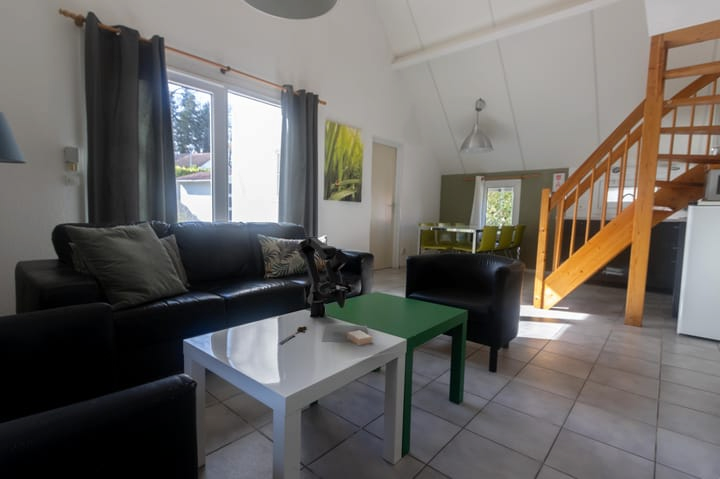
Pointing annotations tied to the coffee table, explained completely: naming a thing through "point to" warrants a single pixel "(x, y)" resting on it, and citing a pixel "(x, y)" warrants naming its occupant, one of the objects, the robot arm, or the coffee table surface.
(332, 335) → the mat
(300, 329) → the sword
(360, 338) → the tile
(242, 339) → the coffee table surface
